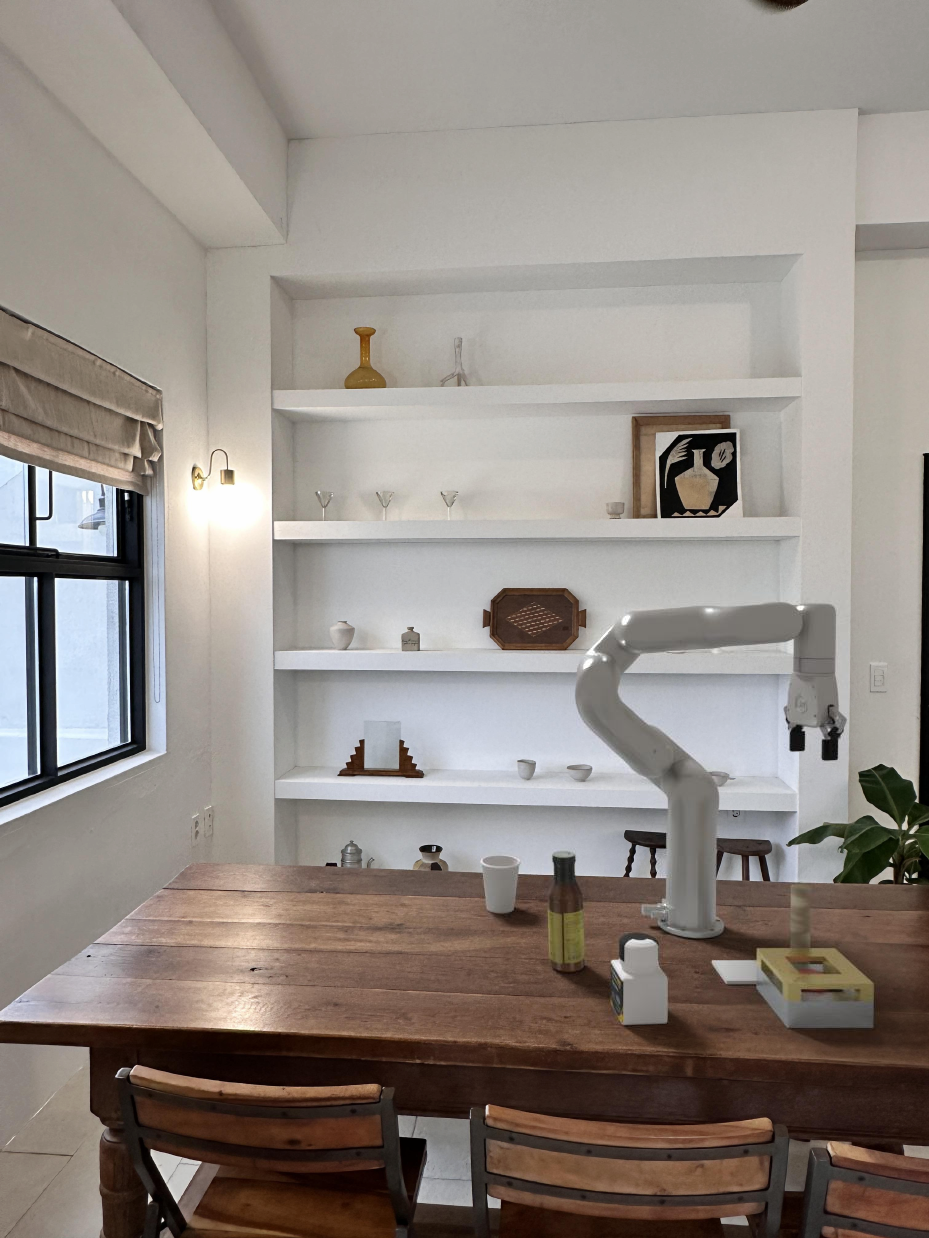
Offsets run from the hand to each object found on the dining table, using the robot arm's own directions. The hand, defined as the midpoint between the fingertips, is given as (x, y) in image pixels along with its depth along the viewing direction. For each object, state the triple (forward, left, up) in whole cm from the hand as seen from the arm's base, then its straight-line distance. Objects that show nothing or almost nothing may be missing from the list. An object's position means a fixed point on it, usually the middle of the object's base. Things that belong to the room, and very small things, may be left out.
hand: (812, 755), depth 163 cm
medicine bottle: (-41, -32, -35) cm, 62 cm away
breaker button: (-13, -30, -32) cm, 46 cm away
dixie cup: (-60, +13, -35) cm, 70 cm away
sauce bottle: (-50, -15, -35) cm, 62 cm away
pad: (-20, -18, -34) cm, 44 cm away
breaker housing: (-13, -30, -34) cm, 48 cm away
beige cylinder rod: (-10, -18, -34) cm, 40 cm away
